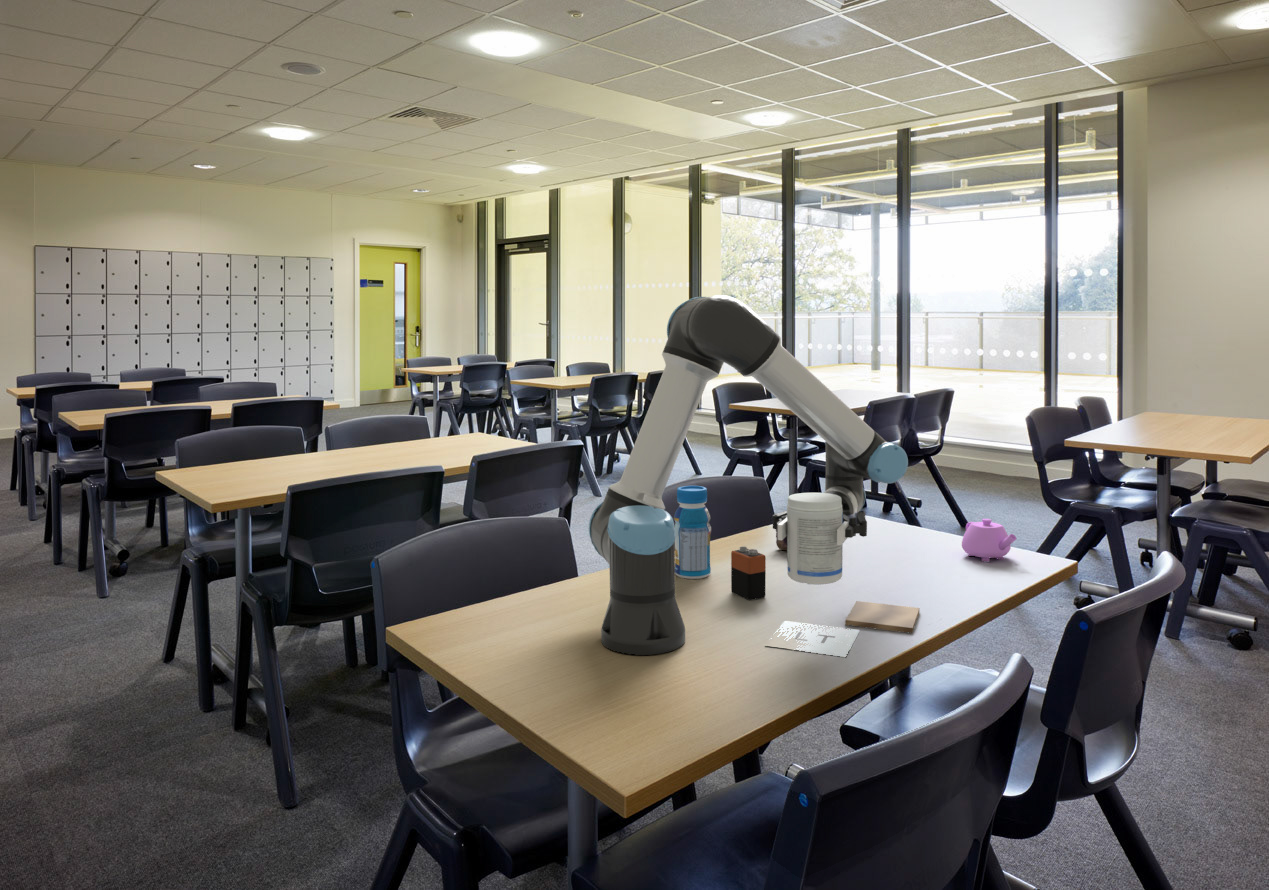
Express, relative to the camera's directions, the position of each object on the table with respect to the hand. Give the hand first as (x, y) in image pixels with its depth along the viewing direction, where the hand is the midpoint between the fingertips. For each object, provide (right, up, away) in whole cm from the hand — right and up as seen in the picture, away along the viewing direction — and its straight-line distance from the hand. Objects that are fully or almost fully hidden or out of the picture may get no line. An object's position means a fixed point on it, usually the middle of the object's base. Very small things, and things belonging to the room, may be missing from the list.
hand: (809, 535), depth 146 cm
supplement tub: (+2, -8, +5) cm, 10 cm away
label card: (+2, -19, +7) cm, 20 cm away
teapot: (+54, -12, +57) cm, 80 cm away
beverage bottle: (-17, -14, +48) cm, 52 cm away
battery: (-6, -16, +32) cm, 36 cm away
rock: (+12, -11, +68) cm, 70 cm away
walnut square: (+17, -18, +16) cm, 30 cm away
